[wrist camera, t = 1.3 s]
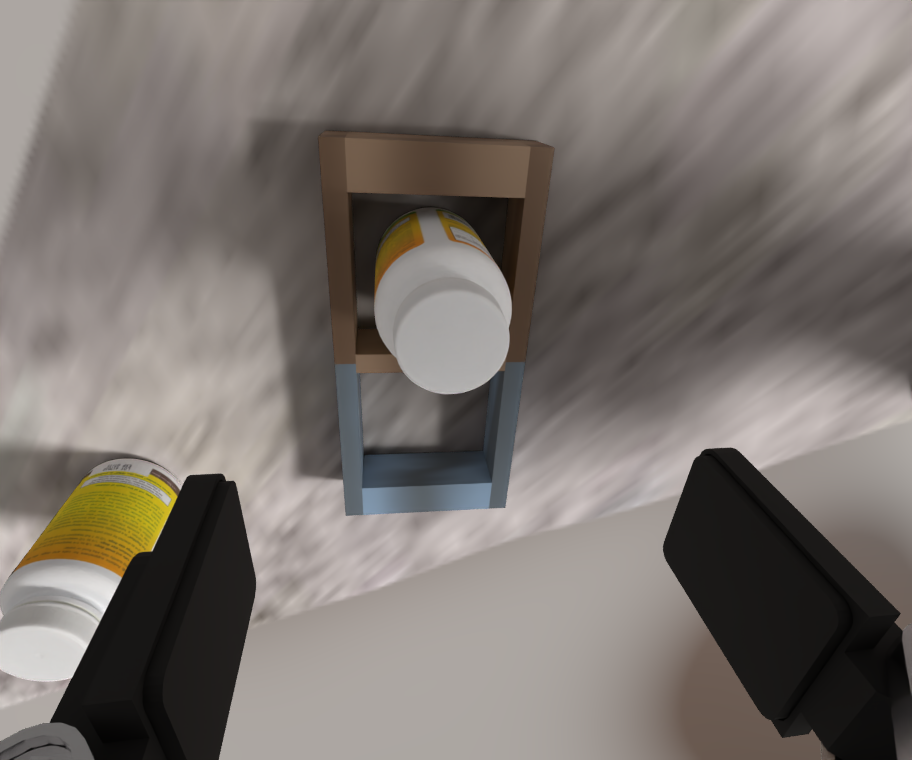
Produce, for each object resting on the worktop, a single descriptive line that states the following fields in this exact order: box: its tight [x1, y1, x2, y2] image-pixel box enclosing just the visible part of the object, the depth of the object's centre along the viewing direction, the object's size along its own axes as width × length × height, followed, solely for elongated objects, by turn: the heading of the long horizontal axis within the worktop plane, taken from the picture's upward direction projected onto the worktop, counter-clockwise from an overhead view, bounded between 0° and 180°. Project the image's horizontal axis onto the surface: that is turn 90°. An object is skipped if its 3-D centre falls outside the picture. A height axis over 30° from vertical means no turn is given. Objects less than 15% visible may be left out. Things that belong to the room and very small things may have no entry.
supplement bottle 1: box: [0, 459, 182, 682], centre depth 26 cm, size 6×6×10 cm
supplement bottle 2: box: [374, 207, 512, 394], centre depth 21 cm, size 5×5×10 cm
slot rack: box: [318, 130, 554, 516], centre depth 26 cm, size 9×20×3 cm, turn 177°
